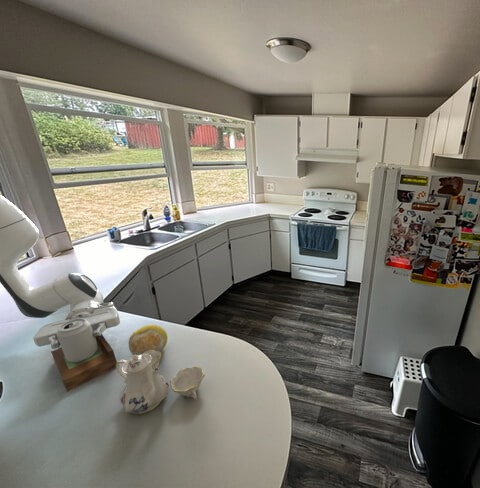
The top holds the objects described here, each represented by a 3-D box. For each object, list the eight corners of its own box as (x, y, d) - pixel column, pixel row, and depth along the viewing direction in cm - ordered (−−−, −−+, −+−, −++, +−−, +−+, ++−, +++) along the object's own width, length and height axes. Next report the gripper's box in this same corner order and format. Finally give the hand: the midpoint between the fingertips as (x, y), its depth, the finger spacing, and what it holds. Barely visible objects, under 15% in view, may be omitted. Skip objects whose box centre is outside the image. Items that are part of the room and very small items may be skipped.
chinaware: (216, 385, 77) (214, 338, 73) (171, 436, 62) (165, 380, 58) (145, 364, 84) (140, 320, 80) (88, 404, 68) (78, 352, 64)
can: (75, 348, 82) (64, 318, 78) (103, 344, 84) (93, 314, 80) (61, 366, 75) (47, 334, 71) (91, 361, 77) (80, 329, 73)
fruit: (130, 351, 87) (124, 328, 84) (166, 337, 94) (161, 315, 90) (134, 369, 80) (127, 344, 77) (172, 353, 87) (167, 330, 83)
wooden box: (67, 391, 72) (59, 374, 70) (54, 361, 82) (47, 345, 80) (118, 365, 81) (112, 349, 79) (101, 341, 91) (96, 326, 89)
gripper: (37, 319, 80) (22, 345, 70) (118, 300, 92) (115, 320, 81) (44, 335, 83) (30, 362, 72) (122, 315, 94) (120, 336, 83)
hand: (76, 340), depth 77 cm, fingers open, 8 cm apart
